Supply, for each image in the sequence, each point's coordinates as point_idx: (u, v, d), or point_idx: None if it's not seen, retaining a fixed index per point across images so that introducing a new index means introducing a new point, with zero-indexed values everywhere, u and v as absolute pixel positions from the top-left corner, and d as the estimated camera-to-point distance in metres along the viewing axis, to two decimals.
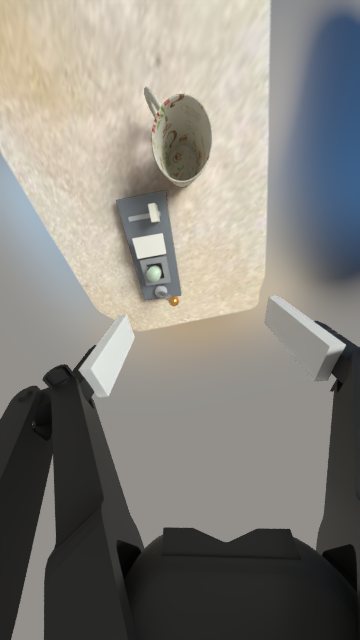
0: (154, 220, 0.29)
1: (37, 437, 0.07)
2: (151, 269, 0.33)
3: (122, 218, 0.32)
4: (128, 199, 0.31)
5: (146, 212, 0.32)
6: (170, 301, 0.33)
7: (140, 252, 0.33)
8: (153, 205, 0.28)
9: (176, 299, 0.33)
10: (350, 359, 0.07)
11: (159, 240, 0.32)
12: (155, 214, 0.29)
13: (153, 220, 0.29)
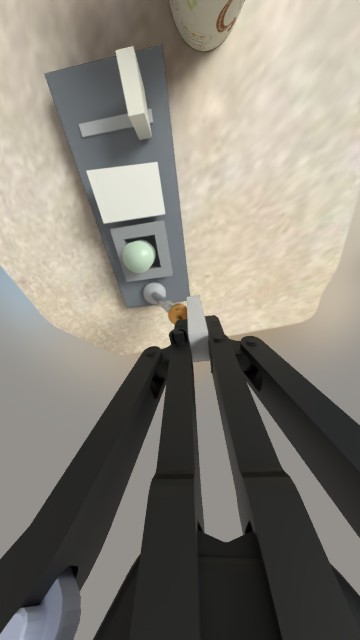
0: (135, 110, 0.11)
1: (150, 394, 0.08)
2: (132, 245, 0.15)
3: (66, 128, 0.14)
4: (75, 72, 0.13)
5: (120, 112, 0.14)
6: (171, 316, 0.15)
7: (109, 207, 0.15)
8: (131, 56, 0.10)
9: (184, 312, 0.15)
10: (210, 346, 0.10)
11: (150, 180, 0.15)
12: (137, 90, 0.11)
13: (133, 110, 0.11)
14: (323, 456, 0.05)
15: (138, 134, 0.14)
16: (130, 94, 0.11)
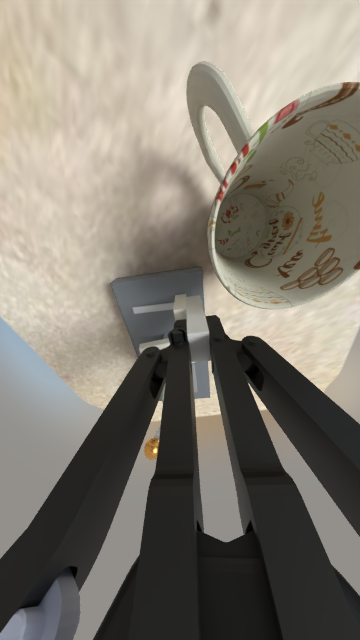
0: None
1: (149, 394, 0.08)
2: None
3: (122, 308, 0.18)
4: (133, 282, 0.17)
5: (165, 301, 0.18)
6: None
7: None
8: (184, 312, 0.14)
9: (149, 455, 0.19)
10: (211, 346, 0.10)
11: None
12: None
13: None
14: (324, 456, 0.05)
15: None
16: None
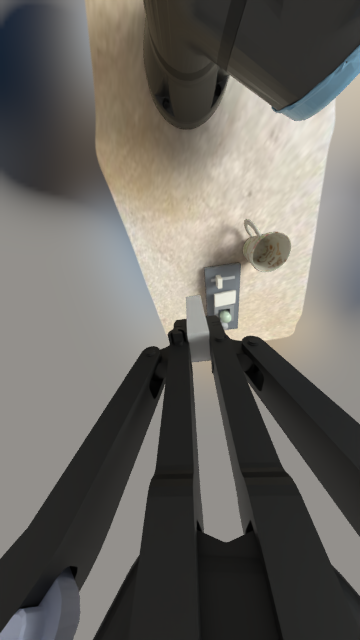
0: (220, 287, 0.43)
1: (149, 394, 0.08)
2: (226, 315, 0.46)
3: (206, 279, 0.46)
4: (214, 268, 0.44)
5: (224, 276, 0.45)
6: None
7: (218, 302, 0.46)
8: (221, 279, 0.41)
9: None
10: (211, 346, 0.10)
11: (232, 295, 0.46)
12: (221, 284, 0.42)
13: (219, 287, 0.43)
14: (324, 456, 0.05)
15: (216, 285, 0.45)
16: (219, 285, 0.42)
